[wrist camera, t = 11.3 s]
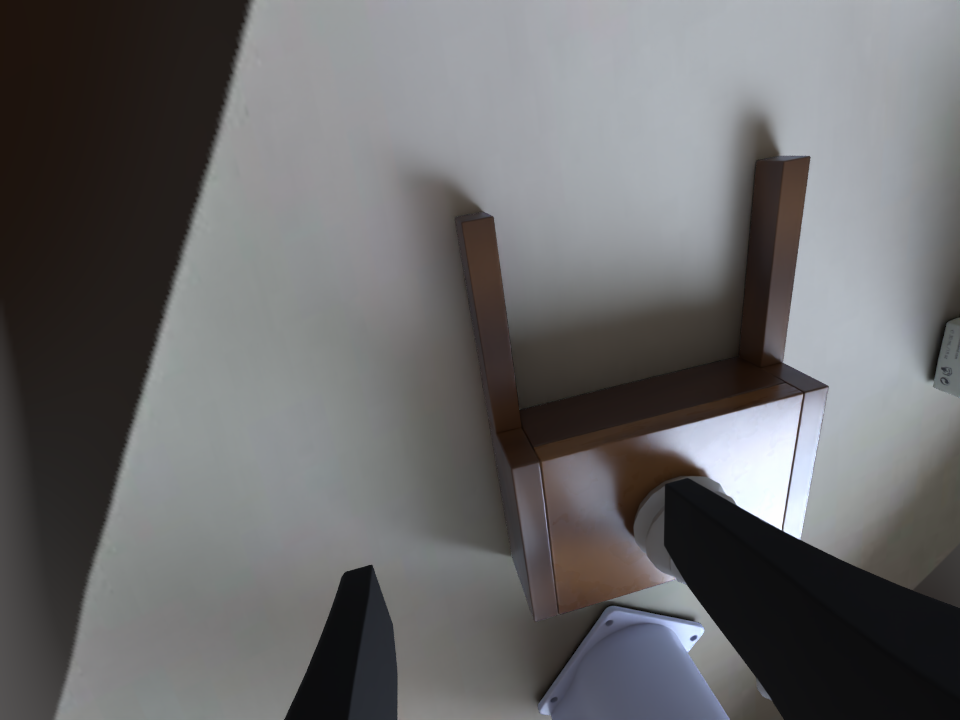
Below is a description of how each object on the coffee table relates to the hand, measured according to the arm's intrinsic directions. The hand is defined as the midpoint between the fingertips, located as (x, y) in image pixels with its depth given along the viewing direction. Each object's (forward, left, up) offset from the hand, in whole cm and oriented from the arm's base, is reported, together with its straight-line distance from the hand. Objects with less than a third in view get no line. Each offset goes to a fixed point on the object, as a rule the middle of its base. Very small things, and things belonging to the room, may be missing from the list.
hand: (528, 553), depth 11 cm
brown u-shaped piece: (+3, -8, -10) cm, 13 cm away
